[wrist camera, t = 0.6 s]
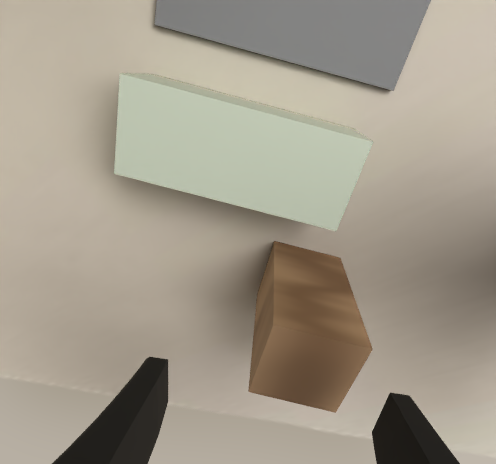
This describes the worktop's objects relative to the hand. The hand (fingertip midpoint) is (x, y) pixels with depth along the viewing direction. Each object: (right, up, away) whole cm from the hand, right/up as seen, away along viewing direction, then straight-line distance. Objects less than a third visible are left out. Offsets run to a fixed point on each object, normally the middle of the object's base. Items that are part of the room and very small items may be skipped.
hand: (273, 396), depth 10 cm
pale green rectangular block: (-1, +10, +6) cm, 12 cm away
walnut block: (+2, +3, +9) cm, 10 cm away
